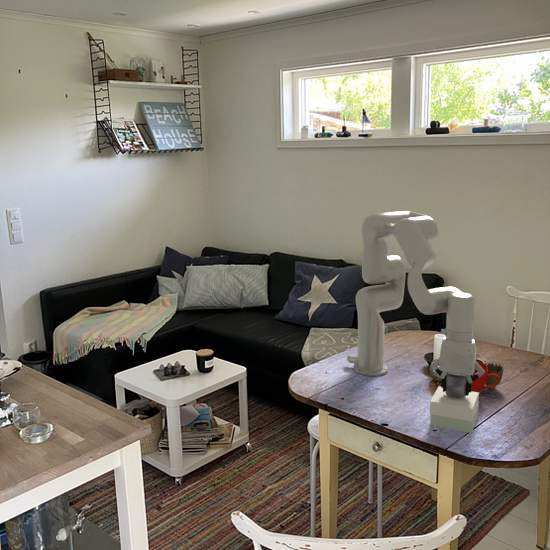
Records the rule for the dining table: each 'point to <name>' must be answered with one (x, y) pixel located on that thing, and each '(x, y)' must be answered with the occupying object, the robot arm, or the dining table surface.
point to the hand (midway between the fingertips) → (456, 391)
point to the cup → (493, 370)
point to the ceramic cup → (483, 379)
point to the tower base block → (454, 422)
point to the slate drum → (456, 385)
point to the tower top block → (454, 405)
